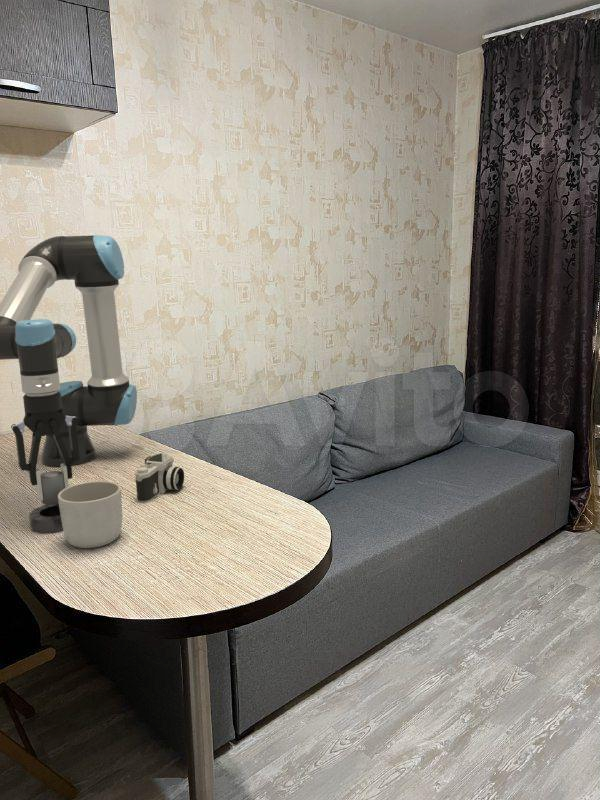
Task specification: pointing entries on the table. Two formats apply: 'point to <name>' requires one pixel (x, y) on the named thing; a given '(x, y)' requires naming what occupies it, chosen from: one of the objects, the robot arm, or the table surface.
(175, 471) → the camera
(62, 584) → the table surface
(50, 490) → the cap
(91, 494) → the planter
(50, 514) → the grey ring
